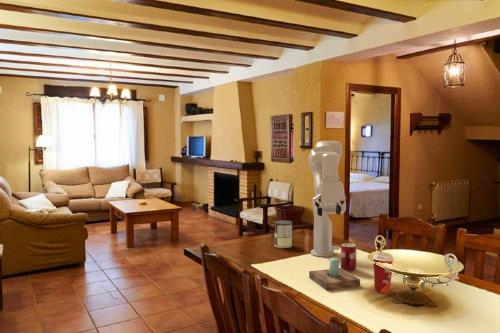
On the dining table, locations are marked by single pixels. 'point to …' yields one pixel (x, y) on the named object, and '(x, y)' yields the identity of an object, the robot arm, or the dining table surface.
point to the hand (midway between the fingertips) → (329, 214)
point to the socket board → (334, 279)
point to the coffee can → (283, 234)
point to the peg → (334, 267)
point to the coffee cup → (382, 273)
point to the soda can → (348, 257)
